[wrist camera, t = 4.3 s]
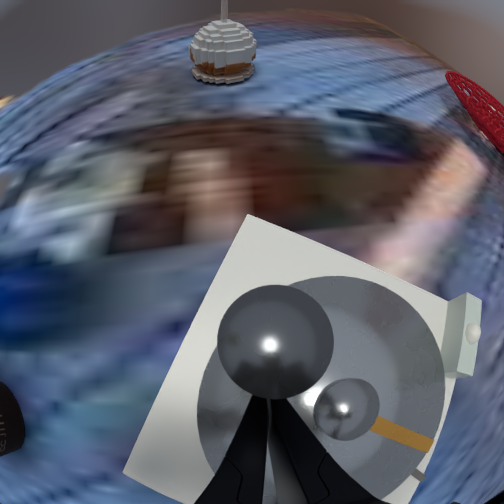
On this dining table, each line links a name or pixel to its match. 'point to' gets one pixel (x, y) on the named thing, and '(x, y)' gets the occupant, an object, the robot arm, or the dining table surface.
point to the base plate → (205, 341)
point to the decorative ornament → (223, 51)
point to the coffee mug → (10, 422)
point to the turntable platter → (329, 375)
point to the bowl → (480, 108)
